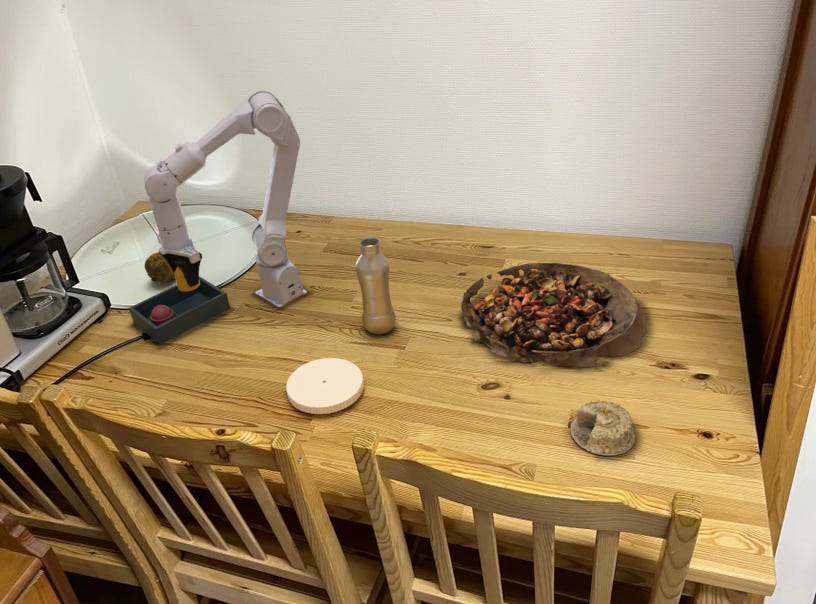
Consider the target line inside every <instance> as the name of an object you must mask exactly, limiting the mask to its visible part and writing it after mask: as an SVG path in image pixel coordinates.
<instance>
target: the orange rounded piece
mask: <svg viewBox="0 0 816 604" xmlns="http://www.w3.org/2000/svg"><path fill="white" fill-rule="evenodd" d="M174 276H175V279H174V280H175V282H176V283H175V284H176V285H177V286H178V289H179V290H180V291H191V290H194V289H196V288H198V287H199V285H200V280H199V284H197V285H195V286H193V287H190V286H189V285H188V284H187V282H186V279H185V277H184V275H183V273H182V271H181V270H180V268H179V267H177V268H176V271H175V272H174Z"/></svg>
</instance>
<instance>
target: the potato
mask: <svg viewBox="0 0 816 604" xmlns="http://www.w3.org/2000/svg"><path fill="white" fill-rule="evenodd" d="M144 270H145V272H146V275H147V276H148V277H149V278H150V280H151V281H152V282H154V283H156V282H160V283H165V282H168V281H171V280H175V276H174V273H173V271H172V269H171V267H170V266H169V264H168V263H167V261H166V260H165V259H164V258H163V257H162V256H161V255H160V254H159V251H158V252H154V253H152V254H151V255H149V257H147V258H146V259H145V261H144Z"/></svg>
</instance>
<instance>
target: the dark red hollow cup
mask: <svg viewBox="0 0 816 604" xmlns="http://www.w3.org/2000/svg"><path fill="white" fill-rule="evenodd" d="M173 318H175V315H174V312H173V310H172V309H170V308H169V307H168V306H166V305H158V306H156V307H154V308H153V310H152V312H151V315H150V319H151V322H152V323H153V324H154V325H156V326H159V325H161V324H163V323H165V322H167V321H169V320H171V319H173Z"/></svg>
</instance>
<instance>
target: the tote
mask: <svg viewBox="0 0 816 604" xmlns="http://www.w3.org/2000/svg"><path fill="white" fill-rule="evenodd" d="M199 280H200V285H199V287H198V288H196V289H194V290H191V291H180V290H179V289H178V286H177V284H175V285H173V286H171V287H168V288H167V289H165V290H162V291H160V292H159V293H156V294H155V295H152V296H150V297H149V298H145V299H144V300H142V301H140V302H138V303H136V304H134V305H131V306H130V307H128V311H129V313H130V316H131V318H132V322H133V324H134V325H135V326H136V327H138V328H139V329H140V330H141V331H143V332H144V333H145V334H146V335H148V336H149V337H150V338H151V339H152V340H154V341H155V342H156V343H157V344H159V345H160V346H161V345H164V344H165V343H167V342H169V341H172V340H173V339H175V338H177V337H178V336H181V335H183V334H184V333H187V332H188V331H191V330H192V329H194V328H196V327H198V326H200V325H202V324H204V323H206V322H208V321H210V320H211V319H213V318H215V317H217V316H219V315H221V314H223V313H225V312H227V311H228V310H230V309H231V305H230V301H229V297H228V294H227V292H226V291H224V290H222V289H220V288H219V287H218V286H216V285H214V284H213V283H211V282H210V281H208V280H206V279H205V278H203V277H201V275H199ZM158 305H166V306H168V307H169V308H170V309H172V310H173V312H174V315H176V316H177V317H175V318H173V319H171V320H169V321H167V322H165V323H163V324H161V325H159V326H156V325H154V324H153V323H152V322H151V319H150V315H151V312H152V310H153V308H154V307H156V306H158Z"/></svg>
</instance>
